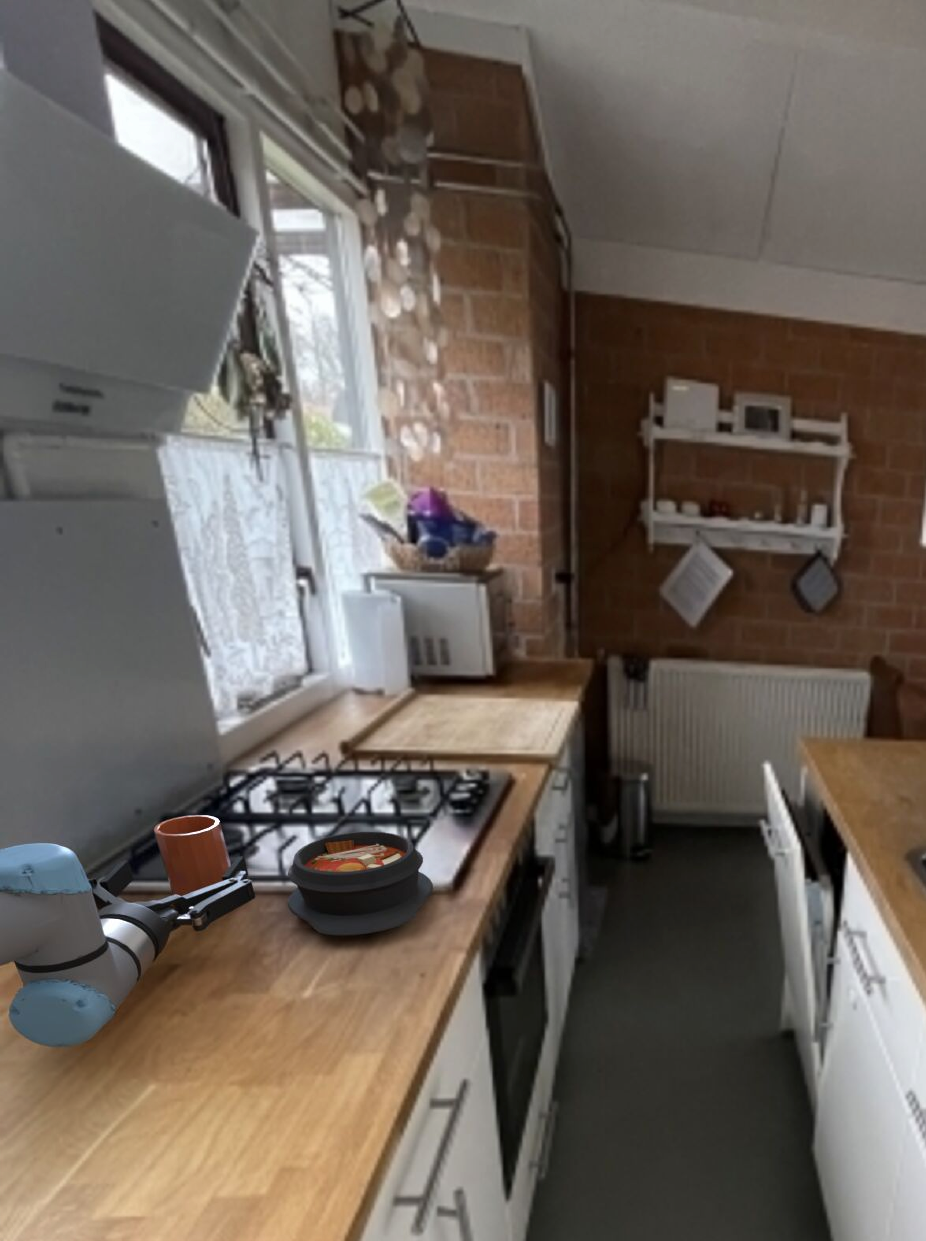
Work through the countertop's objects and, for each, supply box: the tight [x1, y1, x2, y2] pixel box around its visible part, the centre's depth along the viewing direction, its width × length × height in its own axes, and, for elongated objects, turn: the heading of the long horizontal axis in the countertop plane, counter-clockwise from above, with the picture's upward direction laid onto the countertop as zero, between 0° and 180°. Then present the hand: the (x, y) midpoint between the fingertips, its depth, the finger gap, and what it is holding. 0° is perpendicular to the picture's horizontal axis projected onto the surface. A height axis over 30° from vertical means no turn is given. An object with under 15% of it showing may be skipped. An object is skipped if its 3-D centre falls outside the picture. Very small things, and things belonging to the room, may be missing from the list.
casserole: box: [286, 831, 434, 936], centre depth 121 cm, size 25×19×8 cm
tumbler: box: [153, 814, 232, 896], centre depth 120 cm, size 7×7×11 cm
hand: (186, 867), depth 116 cm, fingers open, 13 cm apart
